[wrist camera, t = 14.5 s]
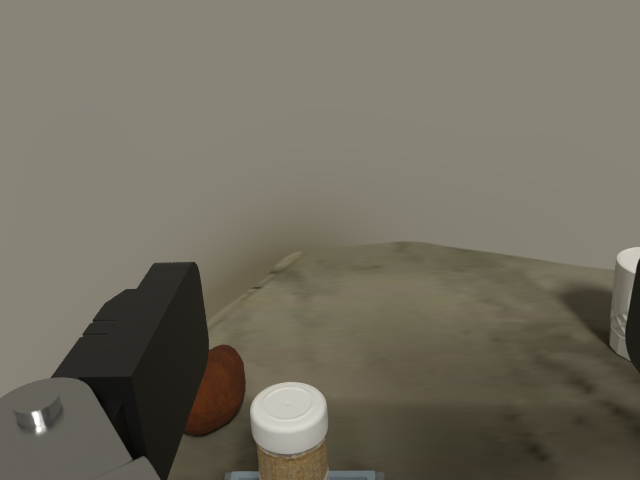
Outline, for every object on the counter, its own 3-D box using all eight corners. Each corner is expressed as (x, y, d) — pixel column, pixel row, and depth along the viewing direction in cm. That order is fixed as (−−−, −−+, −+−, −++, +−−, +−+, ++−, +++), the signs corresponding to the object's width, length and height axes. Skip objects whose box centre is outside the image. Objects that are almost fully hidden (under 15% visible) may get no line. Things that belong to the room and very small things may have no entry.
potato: (270, 398, 59) (265, 342, 57) (213, 463, 52) (203, 401, 49) (212, 380, 62) (204, 327, 60) (150, 439, 55) (138, 380, 52)
